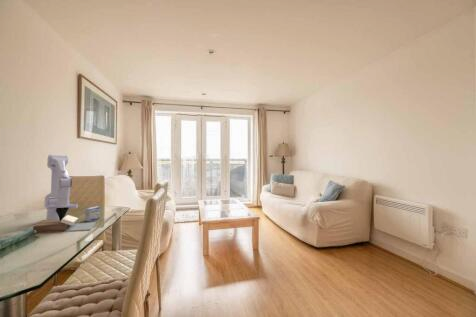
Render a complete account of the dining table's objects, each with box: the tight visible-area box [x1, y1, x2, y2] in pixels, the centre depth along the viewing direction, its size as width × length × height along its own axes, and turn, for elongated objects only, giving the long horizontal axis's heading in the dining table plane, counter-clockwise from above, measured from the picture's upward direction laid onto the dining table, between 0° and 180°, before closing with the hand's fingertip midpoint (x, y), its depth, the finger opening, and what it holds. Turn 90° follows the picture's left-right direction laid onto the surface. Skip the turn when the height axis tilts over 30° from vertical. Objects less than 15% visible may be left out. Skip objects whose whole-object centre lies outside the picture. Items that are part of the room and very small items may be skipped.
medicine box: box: [84, 205, 101, 222], centre depth 143 cm, size 8×4×9 cm, turn 168°
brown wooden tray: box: [32, 219, 71, 234], centre depth 121 cm, size 12×14×4 cm
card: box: [61, 214, 79, 225], centre depth 125 cm, size 9×6×2 cm, turn 24°
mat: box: [64, 221, 97, 233], centre depth 127 cm, size 14×12×1 cm
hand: (61, 220), depth 123 cm, fingers closed
